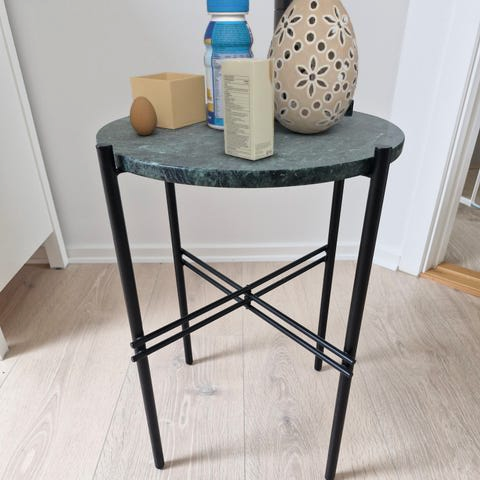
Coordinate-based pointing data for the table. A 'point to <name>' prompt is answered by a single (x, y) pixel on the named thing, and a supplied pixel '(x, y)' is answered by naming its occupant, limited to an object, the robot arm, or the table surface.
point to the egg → (143, 116)
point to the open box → (173, 97)
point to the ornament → (313, 51)
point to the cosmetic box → (248, 107)
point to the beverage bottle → (224, 49)
